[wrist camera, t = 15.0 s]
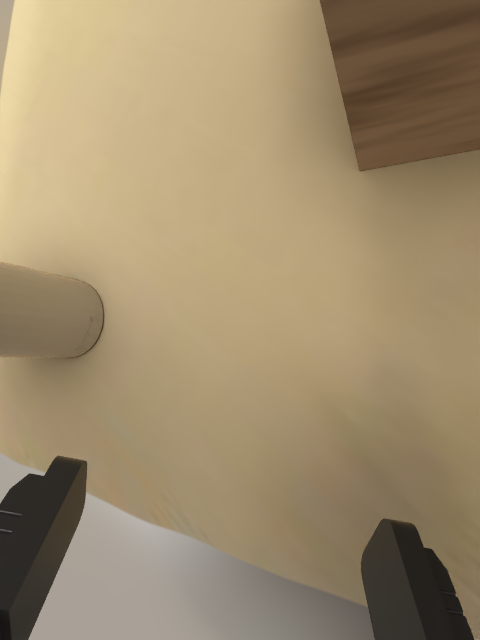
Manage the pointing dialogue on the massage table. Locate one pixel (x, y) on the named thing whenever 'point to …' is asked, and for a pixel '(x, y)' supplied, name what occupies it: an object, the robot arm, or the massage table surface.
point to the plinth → (407, 76)
